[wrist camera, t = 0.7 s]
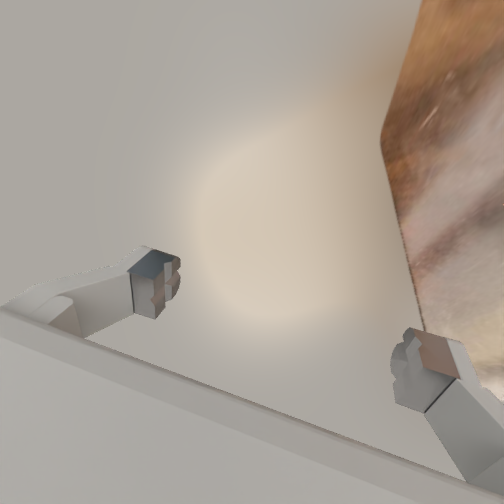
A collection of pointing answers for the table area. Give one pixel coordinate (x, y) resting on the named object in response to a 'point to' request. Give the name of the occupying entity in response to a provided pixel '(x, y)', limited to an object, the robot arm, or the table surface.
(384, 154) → the table surface
